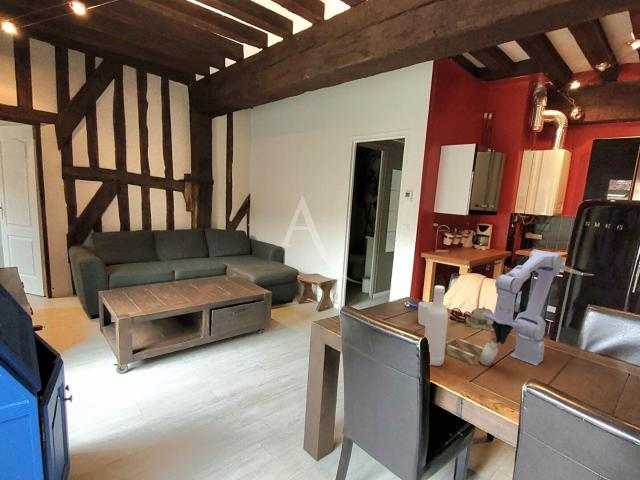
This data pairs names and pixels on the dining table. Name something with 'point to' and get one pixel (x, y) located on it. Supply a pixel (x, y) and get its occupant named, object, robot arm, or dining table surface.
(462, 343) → the u rest
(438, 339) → the bottle
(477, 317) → the ceramic model
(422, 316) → the white cup
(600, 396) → the dining table surface
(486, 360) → the bottle
